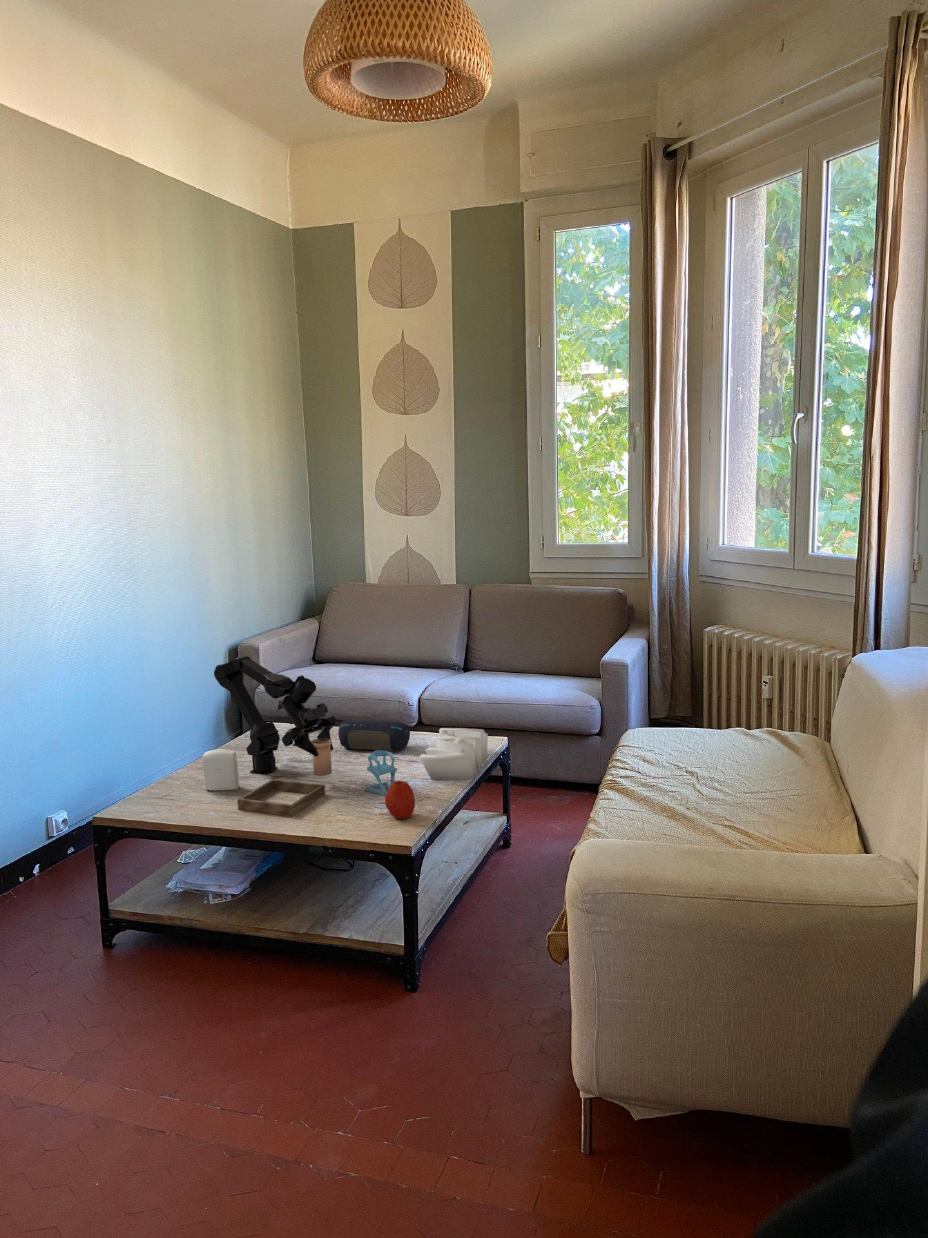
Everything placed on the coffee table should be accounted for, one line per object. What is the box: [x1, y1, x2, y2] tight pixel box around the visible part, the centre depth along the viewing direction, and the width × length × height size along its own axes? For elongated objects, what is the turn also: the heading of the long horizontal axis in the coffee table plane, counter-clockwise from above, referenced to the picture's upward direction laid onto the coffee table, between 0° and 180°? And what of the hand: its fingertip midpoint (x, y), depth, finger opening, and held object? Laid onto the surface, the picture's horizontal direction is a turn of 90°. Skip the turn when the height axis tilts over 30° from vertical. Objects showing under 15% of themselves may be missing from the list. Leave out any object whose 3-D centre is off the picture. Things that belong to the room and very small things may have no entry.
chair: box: [364, 750, 398, 797], centre depth 266 cm, size 8×8×12 cm
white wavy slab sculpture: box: [418, 727, 489, 782], centre depth 285 cm, size 35×16×11 cm, turn 163°
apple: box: [384, 780, 416, 820], centre depth 245 cm, size 8×8×11 cm
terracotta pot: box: [310, 738, 333, 777], centre depth 270 cm, size 6×6×10 cm
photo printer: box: [202, 748, 240, 791], centre depth 271 cm, size 10×4×12 cm, turn 89°
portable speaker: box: [337, 719, 411, 752], centre depth 306 cm, size 25×10×10 cm, turn 76°
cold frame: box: [237, 778, 326, 817], centre depth 259 cm, size 18×18×3 cm
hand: (324, 752), depth 269 cm, fingers closed on terracotta pot, 6 cm apart
